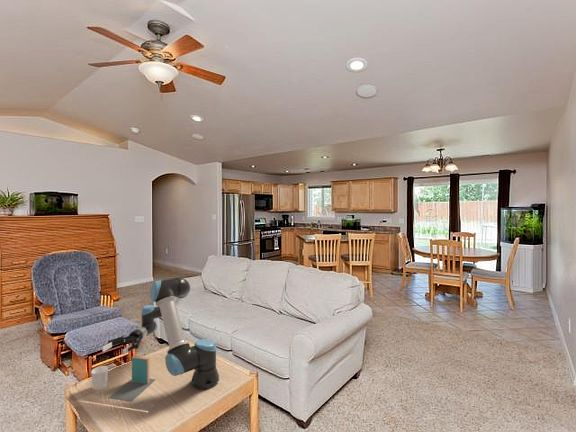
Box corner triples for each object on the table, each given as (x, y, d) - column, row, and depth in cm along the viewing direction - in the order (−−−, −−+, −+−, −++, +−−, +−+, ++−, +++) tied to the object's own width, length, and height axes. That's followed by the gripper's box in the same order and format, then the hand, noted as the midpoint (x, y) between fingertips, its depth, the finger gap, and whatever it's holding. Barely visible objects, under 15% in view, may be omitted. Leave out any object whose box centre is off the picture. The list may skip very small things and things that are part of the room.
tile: (149, 382, 171) (149, 357, 170) (147, 384, 169) (147, 359, 168) (133, 380, 172) (133, 355, 172) (131, 381, 171) (131, 357, 170)
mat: (156, 380, 173) (156, 379, 173) (131, 402, 154) (131, 401, 154) (134, 377, 176) (134, 376, 176) (107, 399, 156) (107, 398, 156)
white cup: (103, 391, 162) (103, 373, 162) (88, 392, 162) (87, 373, 162) (111, 383, 170) (111, 365, 170) (96, 383, 170) (96, 366, 169)
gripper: (155, 342, 194) (132, 359, 173) (121, 338, 199) (94, 354, 178) (155, 331, 194) (132, 347, 173) (121, 327, 198) (94, 342, 178)
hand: (113, 350), depth 175 cm, fingers open, 13 cm apart
